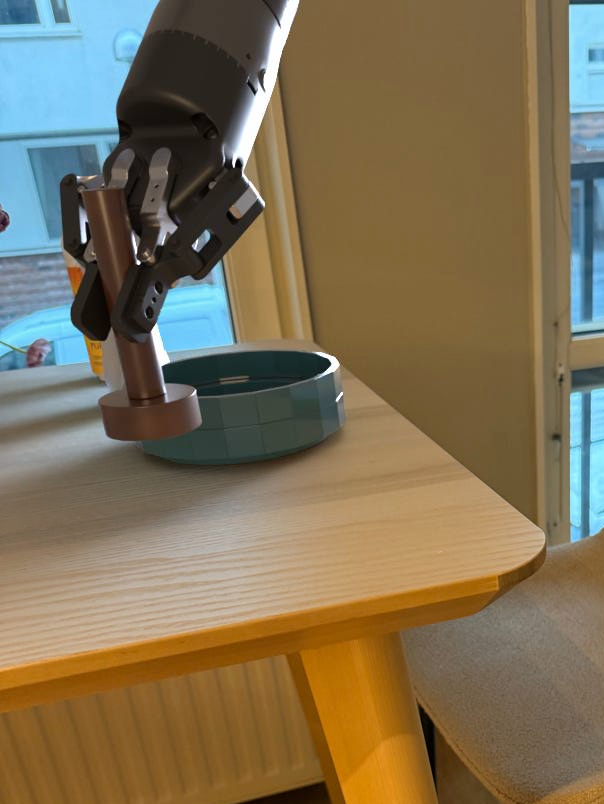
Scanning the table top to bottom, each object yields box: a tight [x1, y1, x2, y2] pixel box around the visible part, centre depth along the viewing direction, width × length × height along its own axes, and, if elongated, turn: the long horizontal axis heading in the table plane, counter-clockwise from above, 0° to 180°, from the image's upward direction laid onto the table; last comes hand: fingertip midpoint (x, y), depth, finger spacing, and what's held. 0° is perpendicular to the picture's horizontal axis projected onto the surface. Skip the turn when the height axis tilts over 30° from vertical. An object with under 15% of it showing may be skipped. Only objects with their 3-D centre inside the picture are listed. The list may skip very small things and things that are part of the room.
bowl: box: [122, 348, 347, 466], centre depth 77 cm, size 17×17×6 cm
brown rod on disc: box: [81, 188, 202, 442], centre depth 53 cm, size 6×6×13 cm
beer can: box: [60, 231, 105, 382], centre depth 99 cm, size 6×6×15 cm
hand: (107, 332), depth 51 cm, fingers closed on brown rod on disc
